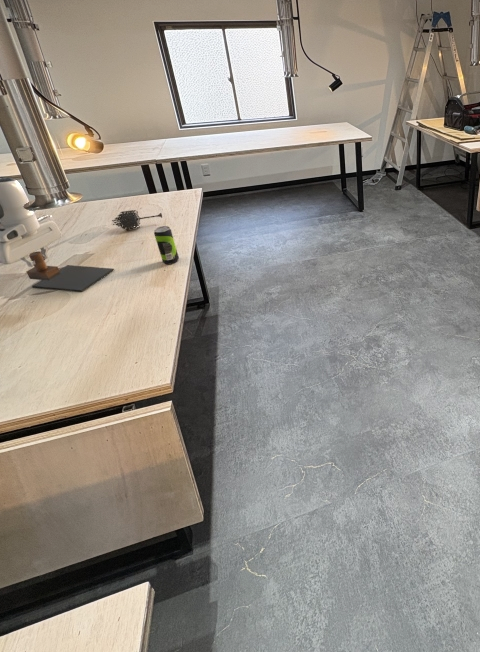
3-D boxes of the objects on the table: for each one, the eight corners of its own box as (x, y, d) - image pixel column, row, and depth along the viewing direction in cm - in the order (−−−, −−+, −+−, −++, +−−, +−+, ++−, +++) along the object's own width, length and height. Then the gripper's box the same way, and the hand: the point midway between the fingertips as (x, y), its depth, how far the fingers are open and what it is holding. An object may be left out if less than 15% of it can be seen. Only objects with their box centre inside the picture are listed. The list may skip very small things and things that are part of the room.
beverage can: (182, 258, 175) (173, 226, 168) (172, 265, 170) (163, 232, 163) (169, 257, 176) (160, 225, 170) (159, 264, 171) (149, 231, 164)
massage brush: (163, 227, 205) (158, 209, 200) (113, 235, 197) (106, 217, 193) (164, 220, 212) (159, 203, 208) (116, 228, 205) (110, 210, 201)
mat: (32, 287, 157) (31, 285, 157) (68, 266, 171) (67, 264, 171) (82, 292, 153) (81, 290, 153) (114, 270, 167) (113, 268, 167)
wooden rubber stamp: (29, 279, 140) (18, 256, 136) (41, 272, 144) (31, 249, 140) (49, 280, 139) (38, 257, 135) (60, 273, 143) (50, 251, 139)
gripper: (42, 212, 143) (57, 247, 149) (-20, 238, 125) (1, 277, 131) (57, 213, 141) (72, 248, 148) (-3, 239, 124) (17, 278, 130)
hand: (38, 262), depth 139 cm, fingers closed on wooden rubber stamp, 3 cm apart
